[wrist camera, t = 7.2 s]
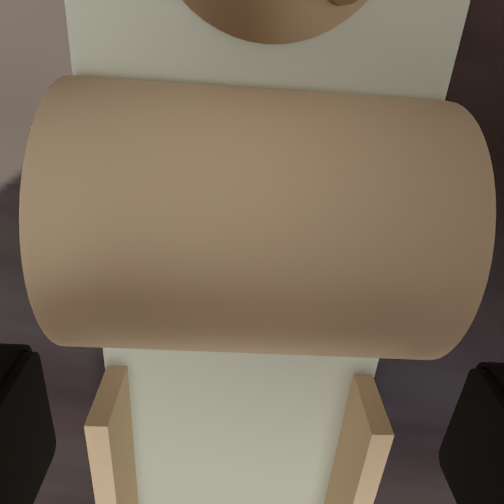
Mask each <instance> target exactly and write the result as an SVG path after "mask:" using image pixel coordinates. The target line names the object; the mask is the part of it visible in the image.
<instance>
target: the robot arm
mask: <svg viewBox="0 0 504 504" xmlns="http://www.w3.org/2000/svg"><path fill="white" fill-rule="evenodd" d="M55 447H56V437H55V432H54V427H53V422H52V417H51V412H50V407H49V401H48V396H47V391H46V386H45V381H44V376H43V371H42V366H41V360H40V356H39V354H38V353H37V352H32V350H31V347H30V346H29V345H23V344H0V504H33V503H34V501H35V498H36V496H37V494H38V491H39V489H40V487H41V484H42V482H43V480H44V477H45V475H46V473H47V470H48V468H49V466H50V463H51V461H52V459H53V456H54V452H55ZM439 462H440V466H441V469H442V471H443V473H444V475H445V478H446V480H447V482H448V484H449V487H450V489H451V491H452V493H453V496H454V498H455V500H456V502H457V504H504V363H493V362H481V363H479V364H478V365H477V367H476V369H471V370H470V372H469V374H468V376H467V379H466V382H465V384H464V387H463V389H462V392H461V395H460V397H459V400H458V403H457V405H456V408H455V410H454V413H453V416H452V418H451V421H450V424H449V426H448V429H447V431H446V434H445V437H444V439H443V442H442V444H441V447H440V450H439Z"/></svg>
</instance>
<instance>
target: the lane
mask: <svg viewBox="0 0 504 504" xmlns="http://www.w3.org/2000/svg"><path fill="white" fill-rule="evenodd" d="M64 2H65V11H66V20H67V29H68V38H69V47H70V57H71V66H72V75H69V76H63V77H61V78H59V79H58V80H56V81H55V82H54V83H53V84H52V85H51V86H50V87H49V89H48V90H47V92H46V93H45V95H44V96H43V98H42V100H41V102H40V104H39V106H38V109H37V111H36V114H35V117H34V119H33V122H32V125H31V129H30V133H29V136H28V141H27V145H26V149H25V156H24V161H23V167H22V176H21V186H20V203H19V237H20V250H21V261H22V268H23V274H24V280H25V285H26V289H27V294H28V298H29V301H30V304H31V307H32V310H33V313H34V316H35V318H36V320H37V322H38V324H39V326H40V328H41V329H42V331H43V332H44V334H45V335H46V337H47V338H48V339H50V340H51V341H52V342H53V343H55V344H57V345H59V346H74V347H100V348H103V355H104V364H105V373H104V375H103V378H102V380H101V383H100V386H99V388H98V391H97V393H96V396H95V399H94V401H93V404H92V406H91V409H90V412H89V414H88V417H87V420H86V422H85V425H84V430H85V436H86V443H87V450H88V456H89V463H90V470H91V476H92V483H93V489H94V496H95V503H96V504H373V503H374V500H375V497H376V494H377V490H378V487H379V484H380V480H381V477H382V474H383V471H384V467H385V464H386V461H387V458H388V454H389V451H390V448H391V445H392V441H393V438H394V433H393V430H392V428H391V425H390V422H389V419H388V417H387V414H386V411H385V408H384V406H383V403H382V400H381V397H380V395H379V392H378V389H377V386H376V384H375V381H374V377H375V373H376V369H377V365H378V361H379V358H387V359H413V360H435V359H438V358H441V357H443V356H444V355H446V354H448V353H449V352H450V351H451V350H452V349H453V348H455V347H456V346H457V345H458V343H459V342H460V341H461V339H462V338H463V337H464V335H465V334H466V333H467V331H468V329H469V327H470V325H471V324H472V322H473V320H474V318H475V315H476V313H477V311H478V308H479V306H480V304H481V301H482V297H483V294H484V291H485V288H486V285H487V281H488V276H489V272H490V267H491V263H492V256H493V249H494V242H495V228H496V193H495V182H494V173H493V168H492V163H491V158H490V154H489V150H488V147H487V144H486V140H485V138H484V136H483V133H482V131H481V129H480V127H479V125H478V123H477V122H476V120H475V119H474V117H473V116H472V114H471V113H470V112H469V111H468V110H467V109H466V108H465V107H463V106H461V105H460V104H458V103H455V102H451V101H445V98H446V94H447V90H448V86H449V82H450V79H451V75H452V71H453V67H454V63H455V59H456V55H457V51H458V47H459V43H460V39H461V35H462V32H463V28H464V24H465V20H466V16H467V12H468V8H469V4H470V0H368V1H367V2H366V3H365V4H364V5H363V6H362V7H361V8H360V9H359V10H358V11H357V12H356V13H354V14H353V15H352V16H351V17H349V18H348V19H347V20H346V21H344V22H343V23H341V24H339V25H338V26H336V27H335V28H333V29H331V30H330V31H327V32H325V33H323V34H321V35H318V36H316V37H314V38H310V39H307V40H304V41H300V42H295V43H288V44H261V43H254V42H249V41H245V40H242V39H239V38H235V37H233V36H231V35H229V34H226V33H224V32H222V31H220V30H218V29H217V28H215V27H213V26H212V25H210V24H209V23H207V22H206V21H204V20H203V19H202V18H201V17H199V16H198V15H197V14H196V13H195V12H193V11H192V10H191V9H190V8H189V7H188V6H187V5H186V4H185V3H184V1H183V0H64Z"/></svg>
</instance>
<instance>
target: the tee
mask: <svg viewBox="0 0 504 504" xmlns="http://www.w3.org/2000/svg"><path fill="white" fill-rule="evenodd" d="M183 1H184V3H185V4H186V5H187V6H188V7H189V8H190V9H191V10H192V11H193V12H195V13H196V14H197V15H198V16H199V17H201V18H202V19H203V20H204V21H206V22H207V23H209V24H210V25H212V26H213V27H215V28H217V29H218V30H220V31H222V32H224V33H226V34H229V35H231V36H233V37H235V38H239V39H242V40H245V41H249V42H254V43H261V44H288V43H295V42H300V41H304V40H307V39H310V38H314V37H316V36H318V35H321V34H323V33H325V32H327V31H330V30H331V29H333V28H335V27H336V26H338V25H339V24H341V23H343V22H344V21H346V20H347V19H348V18H349V17H351V16H352V15H353V14H354V13H356V12H357V11H358V10H359V9H360V8H361V7H362V6H363V5H364V4H365V3H366V2H367V1H368V0H183Z"/></svg>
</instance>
